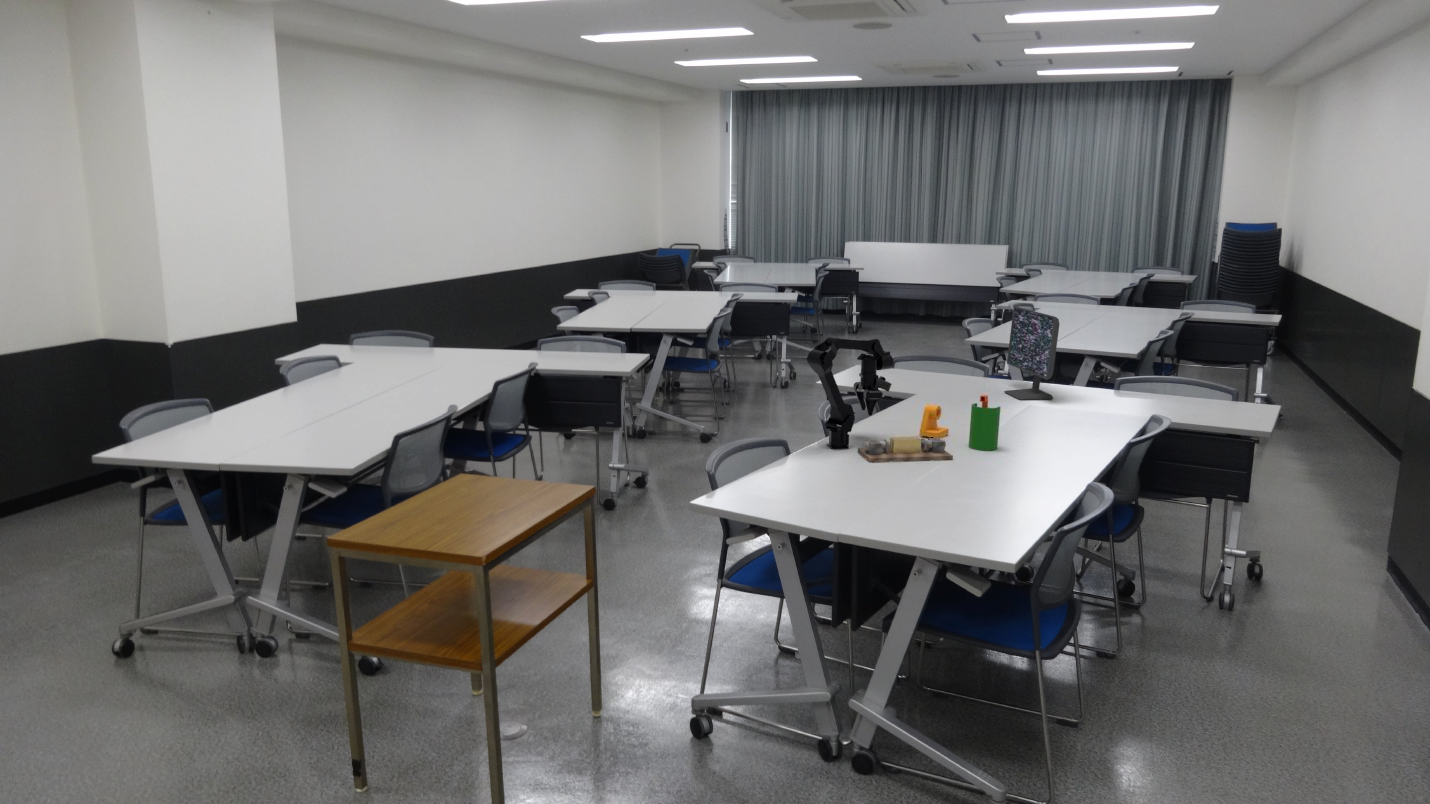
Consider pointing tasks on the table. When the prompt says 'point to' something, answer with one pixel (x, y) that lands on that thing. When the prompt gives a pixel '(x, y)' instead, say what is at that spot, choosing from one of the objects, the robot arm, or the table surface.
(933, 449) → the shaft mount
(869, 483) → the table surface
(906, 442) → the block
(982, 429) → the green tall cylinder
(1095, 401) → the table surface
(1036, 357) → the computer monitor
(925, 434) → the bracket
